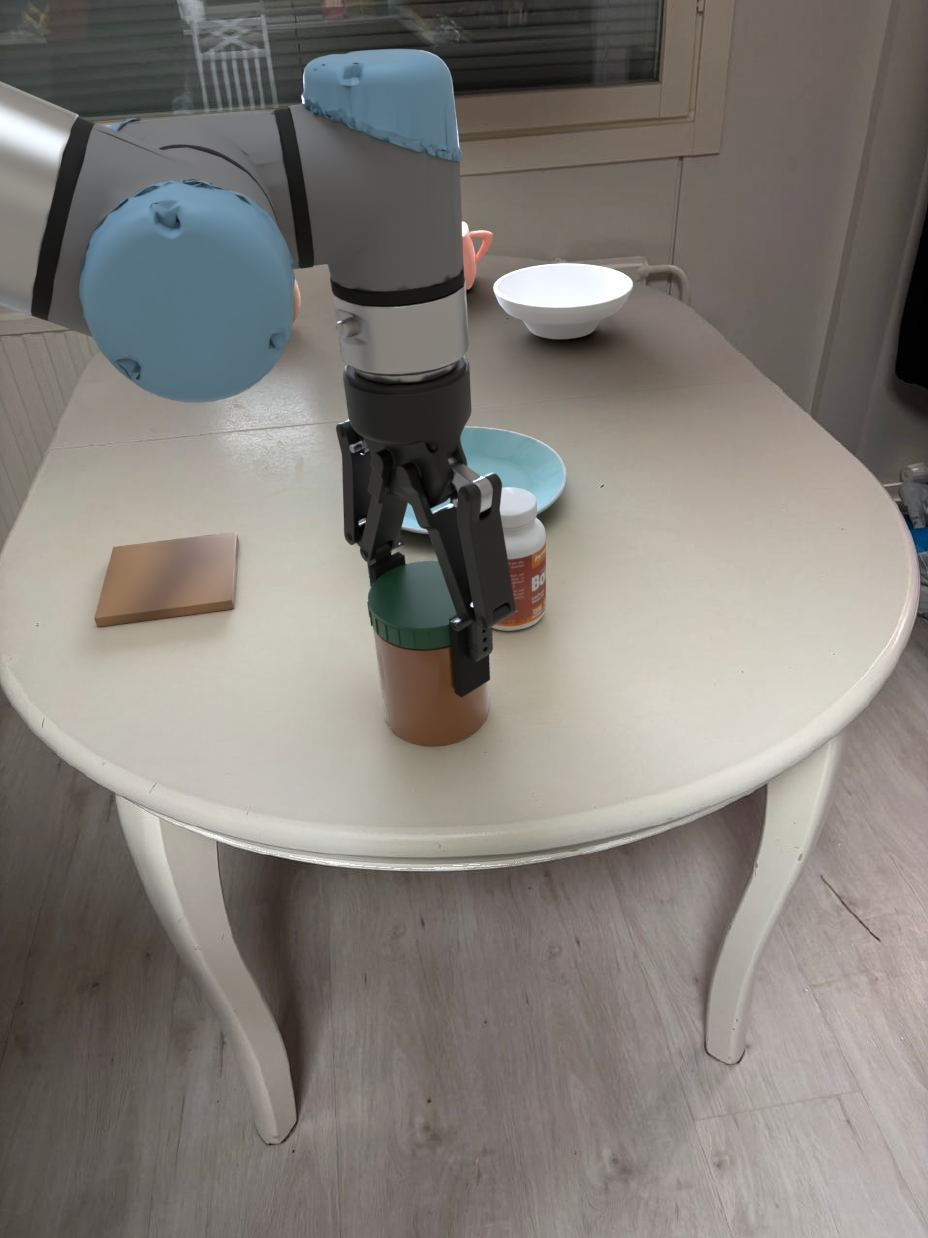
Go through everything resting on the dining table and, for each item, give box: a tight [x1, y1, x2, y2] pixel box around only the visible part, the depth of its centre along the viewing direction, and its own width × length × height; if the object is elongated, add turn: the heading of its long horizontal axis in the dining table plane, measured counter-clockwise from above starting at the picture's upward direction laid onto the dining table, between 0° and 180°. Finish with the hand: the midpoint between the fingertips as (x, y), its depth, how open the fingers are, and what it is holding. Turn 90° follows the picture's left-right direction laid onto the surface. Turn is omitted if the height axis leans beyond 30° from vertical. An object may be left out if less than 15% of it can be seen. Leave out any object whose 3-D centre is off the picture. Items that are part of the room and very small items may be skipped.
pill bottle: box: [492, 487, 547, 632], centre depth 77 cm, size 6×6×11 cm
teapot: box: [462, 221, 494, 291], centre depth 151 cm, size 12×18×10 cm, turn 90°
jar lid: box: [366, 559, 472, 649], centre depth 65 cm, size 8×8×2 cm
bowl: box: [493, 263, 634, 340], centre depth 132 cm, size 20×20×7 cm
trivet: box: [94, 531, 239, 628], centre depth 87 cm, size 12×12×1 cm
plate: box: [401, 426, 568, 535], centre depth 96 cm, size 22×22×3 cm
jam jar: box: [372, 627, 490, 747], centre depth 68 cm, size 8×8×11 cm
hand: (432, 657), depth 68 cm, fingers closed on jar lid, 8 cm apart
